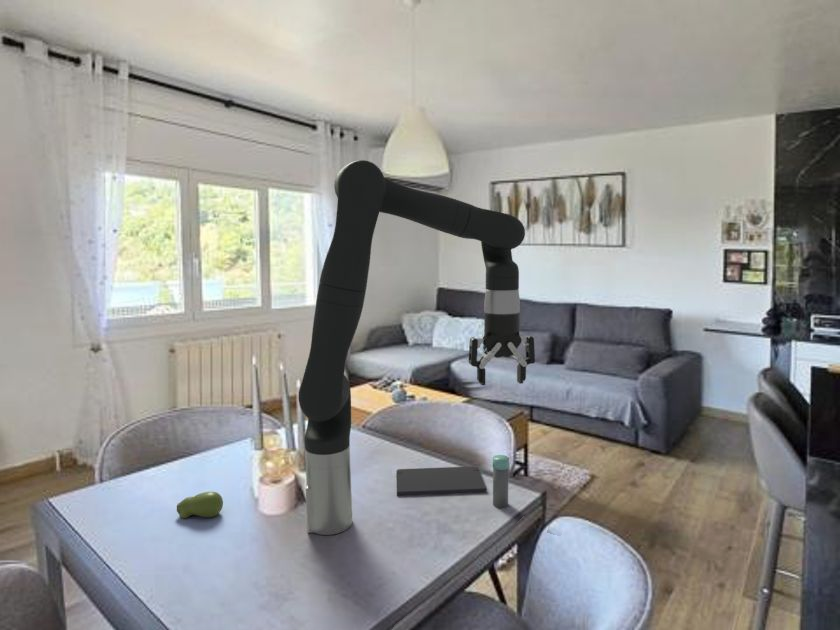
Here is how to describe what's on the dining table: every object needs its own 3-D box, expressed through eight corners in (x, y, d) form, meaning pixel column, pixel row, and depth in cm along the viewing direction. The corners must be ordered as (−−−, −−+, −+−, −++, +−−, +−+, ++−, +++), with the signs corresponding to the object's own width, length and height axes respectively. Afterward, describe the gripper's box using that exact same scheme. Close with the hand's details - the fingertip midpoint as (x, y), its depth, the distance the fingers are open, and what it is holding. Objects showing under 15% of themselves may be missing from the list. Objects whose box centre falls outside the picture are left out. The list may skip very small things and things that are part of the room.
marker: (495, 508, 117) (495, 461, 115) (490, 501, 120) (490, 455, 119) (510, 507, 117) (511, 460, 116) (505, 499, 121) (506, 454, 119)
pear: (212, 497, 112) (169, 503, 113) (217, 520, 113) (175, 526, 114) (224, 485, 118) (183, 491, 119) (229, 507, 118) (188, 513, 120)
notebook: (396, 498, 124) (486, 494, 125) (396, 491, 123) (486, 488, 124) (396, 474, 136) (477, 471, 137) (396, 469, 136) (477, 466, 137)
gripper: (473, 313, 108) (474, 390, 110) (540, 311, 110) (538, 386, 112) (465, 309, 116) (465, 381, 118) (527, 307, 117) (526, 377, 120)
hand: (501, 383), depth 115 cm, fingers open, 8 cm apart
